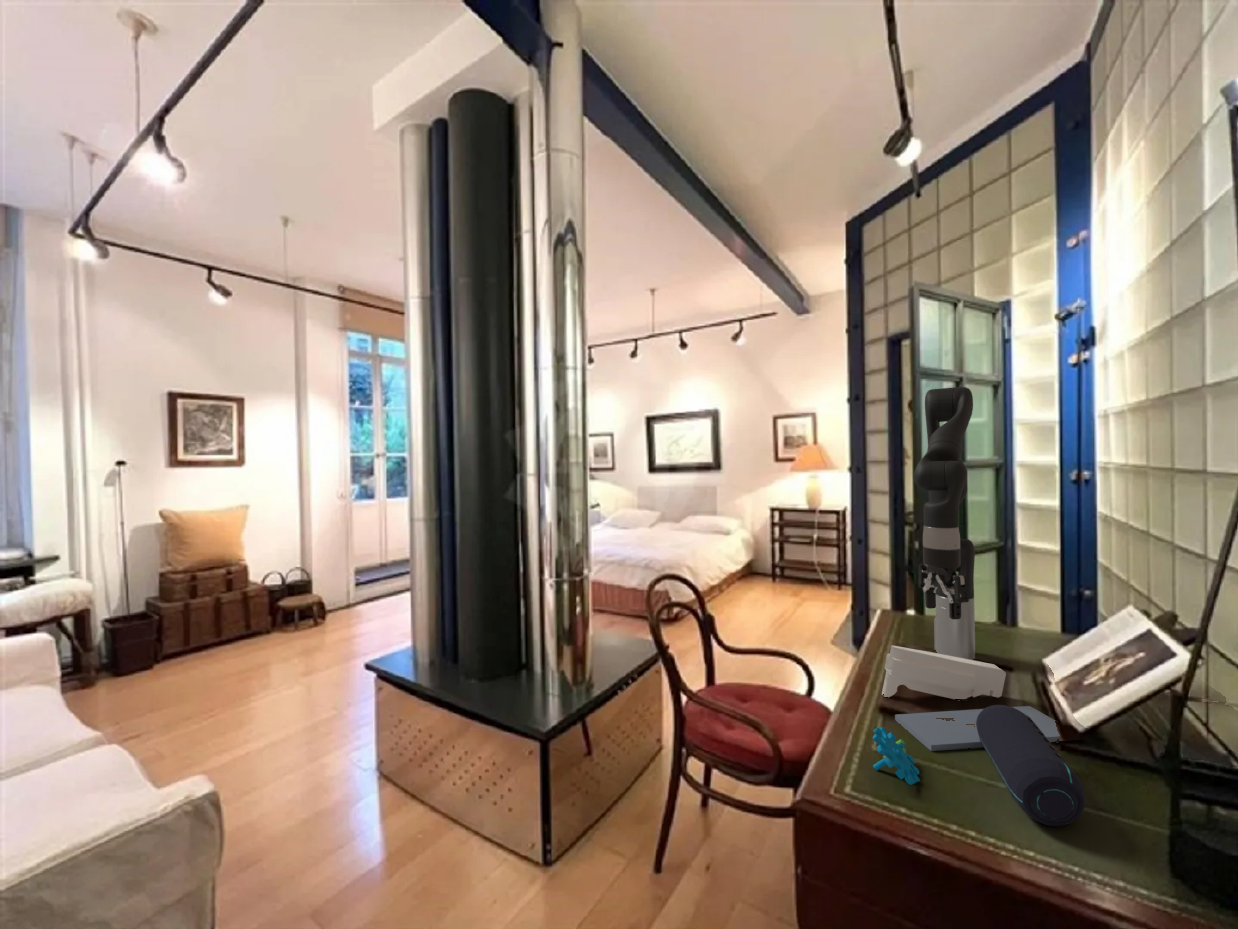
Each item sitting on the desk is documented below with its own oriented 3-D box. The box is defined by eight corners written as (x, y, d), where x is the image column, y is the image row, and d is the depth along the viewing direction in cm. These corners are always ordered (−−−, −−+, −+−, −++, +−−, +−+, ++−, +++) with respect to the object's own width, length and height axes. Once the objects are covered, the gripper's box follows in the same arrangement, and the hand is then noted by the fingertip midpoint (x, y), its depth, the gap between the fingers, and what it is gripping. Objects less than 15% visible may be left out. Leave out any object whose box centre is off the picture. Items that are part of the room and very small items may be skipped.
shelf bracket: (878, 691, 128) (887, 642, 128) (984, 714, 126) (995, 663, 126) (887, 702, 123) (897, 650, 122) (998, 725, 121) (1009, 673, 120)
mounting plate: (895, 720, 115) (895, 714, 115) (1029, 711, 117) (1029, 706, 117) (931, 751, 103) (931, 745, 103) (1080, 740, 105) (1080, 735, 105)
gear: (916, 790, 89) (871, 733, 94) (888, 806, 91) (847, 749, 96) (929, 768, 97) (888, 717, 102) (903, 783, 100) (864, 732, 105)
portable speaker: (1098, 845, 78) (1097, 778, 78) (1017, 830, 81) (1016, 766, 81) (1031, 752, 102) (1031, 701, 101) (971, 744, 105) (970, 694, 105)
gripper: (978, 550, 117) (980, 622, 117) (936, 539, 131) (937, 603, 132) (946, 551, 117) (947, 624, 117) (907, 540, 131) (908, 605, 131)
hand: (942, 613), depth 124 cm, fingers open, 8 cm apart
